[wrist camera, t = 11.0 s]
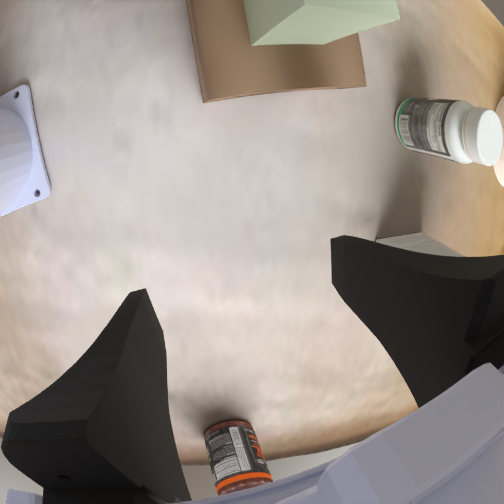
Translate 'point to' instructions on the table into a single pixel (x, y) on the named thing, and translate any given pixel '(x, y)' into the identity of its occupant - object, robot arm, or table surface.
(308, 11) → the sage block
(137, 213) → the table surface
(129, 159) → the table surface
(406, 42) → the table surface
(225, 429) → the supplement bottle
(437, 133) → the pill bottle
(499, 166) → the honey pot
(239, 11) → the walnut base
